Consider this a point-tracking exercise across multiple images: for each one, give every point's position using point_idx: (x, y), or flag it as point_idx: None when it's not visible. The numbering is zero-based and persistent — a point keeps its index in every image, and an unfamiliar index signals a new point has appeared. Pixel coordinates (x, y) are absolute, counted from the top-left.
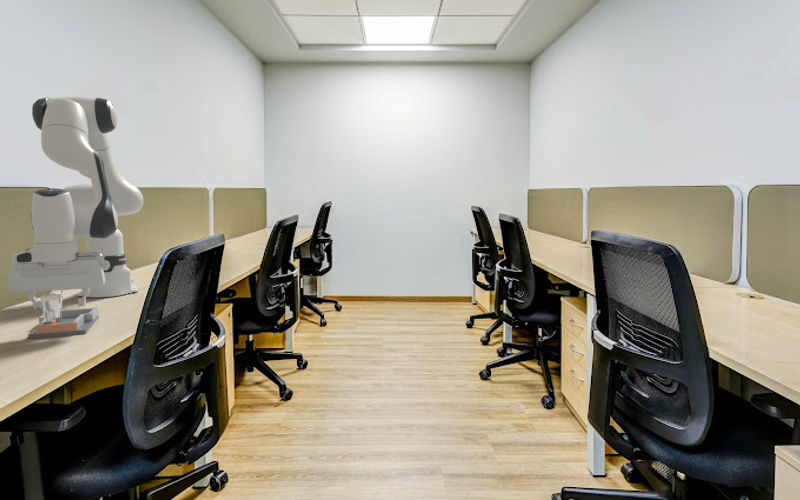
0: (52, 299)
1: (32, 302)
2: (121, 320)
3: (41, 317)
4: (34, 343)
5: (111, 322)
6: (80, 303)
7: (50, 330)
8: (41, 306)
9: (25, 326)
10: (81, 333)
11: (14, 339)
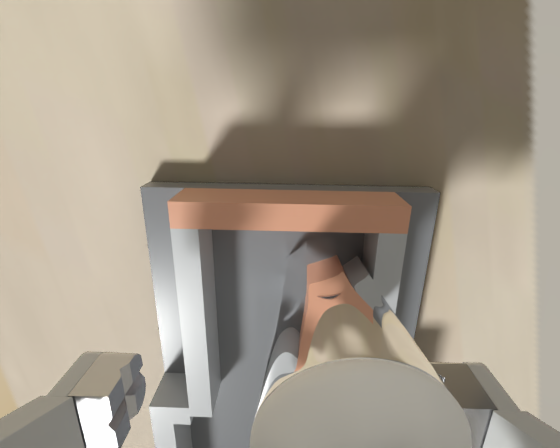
0: (330, 365)
1: (529, 413)
2: None
3: None
4: (384, 45)
5: None
6: (106, 363)
7: (325, 193)
8: None
9: None
10: (171, 183)
11: (496, 199)
